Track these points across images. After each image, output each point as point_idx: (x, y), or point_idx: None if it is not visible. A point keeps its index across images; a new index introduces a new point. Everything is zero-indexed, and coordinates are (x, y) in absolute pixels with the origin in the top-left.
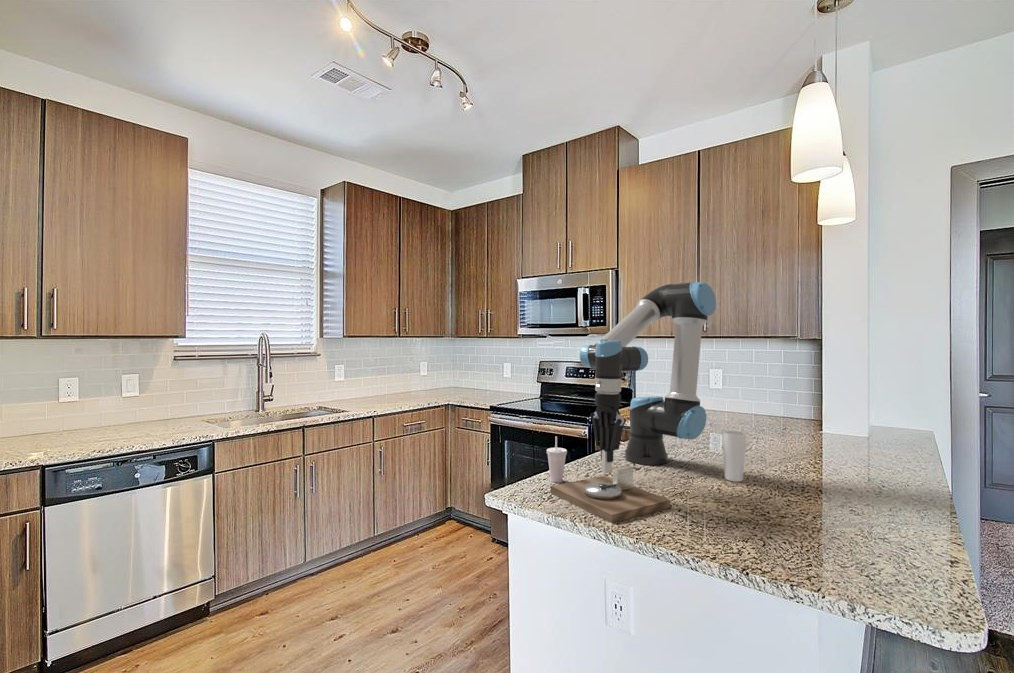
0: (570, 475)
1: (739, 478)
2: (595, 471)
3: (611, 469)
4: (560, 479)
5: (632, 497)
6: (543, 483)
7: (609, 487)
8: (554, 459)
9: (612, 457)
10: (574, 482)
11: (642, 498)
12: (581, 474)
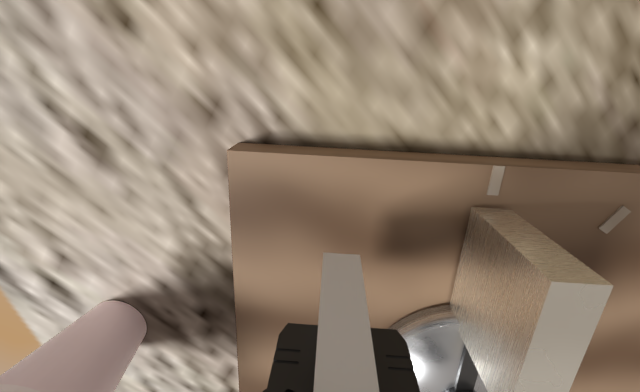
0: (60, 219)
1: None
2: (24, 25)
3: (361, 269)
4: (139, 334)
5: None
6: (133, 380)
7: (478, 374)
8: None
9: (412, 375)
10: (250, 363)
11: (631, 281)
12: (61, 155)
